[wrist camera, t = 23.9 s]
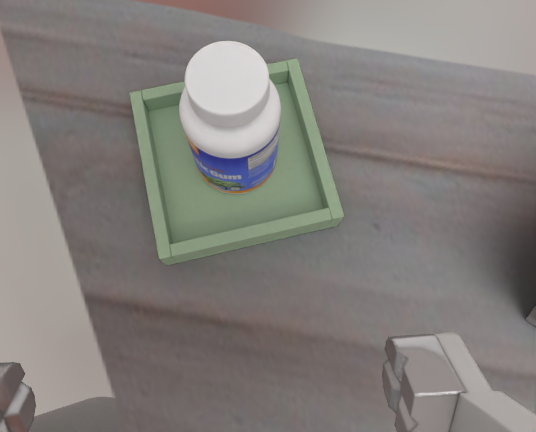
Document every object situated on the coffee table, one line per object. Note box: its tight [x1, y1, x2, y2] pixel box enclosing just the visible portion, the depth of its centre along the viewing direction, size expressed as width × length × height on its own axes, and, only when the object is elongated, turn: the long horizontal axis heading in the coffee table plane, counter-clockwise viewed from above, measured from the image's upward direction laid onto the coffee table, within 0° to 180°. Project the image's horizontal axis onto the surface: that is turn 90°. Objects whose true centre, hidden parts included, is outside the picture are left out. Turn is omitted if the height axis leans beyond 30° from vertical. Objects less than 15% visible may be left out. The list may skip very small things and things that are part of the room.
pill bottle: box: [179, 41, 281, 194], centre depth 25 cm, size 5×5×10 cm
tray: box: [130, 58, 344, 265], centre depth 30 cm, size 12×12×2 cm
